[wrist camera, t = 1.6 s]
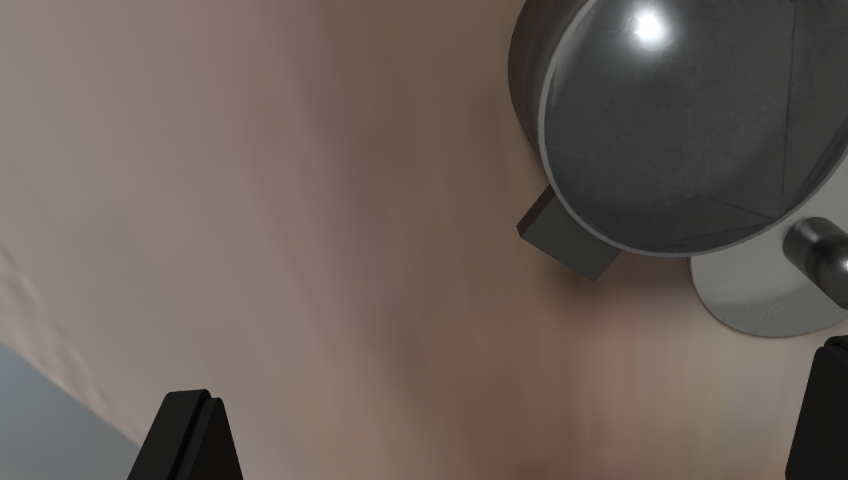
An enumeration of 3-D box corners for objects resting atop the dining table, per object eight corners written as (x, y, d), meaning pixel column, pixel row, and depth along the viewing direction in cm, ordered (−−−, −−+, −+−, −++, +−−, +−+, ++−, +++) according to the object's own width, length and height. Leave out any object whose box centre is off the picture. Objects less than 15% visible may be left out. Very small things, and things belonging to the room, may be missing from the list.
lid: (814, 73, 35) (889, 105, 30) (965, 202, 39) (1055, 249, 34) (638, 264, 40) (676, 319, 35) (788, 359, 44) (843, 422, 39)
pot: (656, -195, 29) (758, -229, 21) (849, -15, 33) (997, 14, 25) (429, 130, 35) (441, 199, 27) (613, 248, 39) (670, 338, 31)
